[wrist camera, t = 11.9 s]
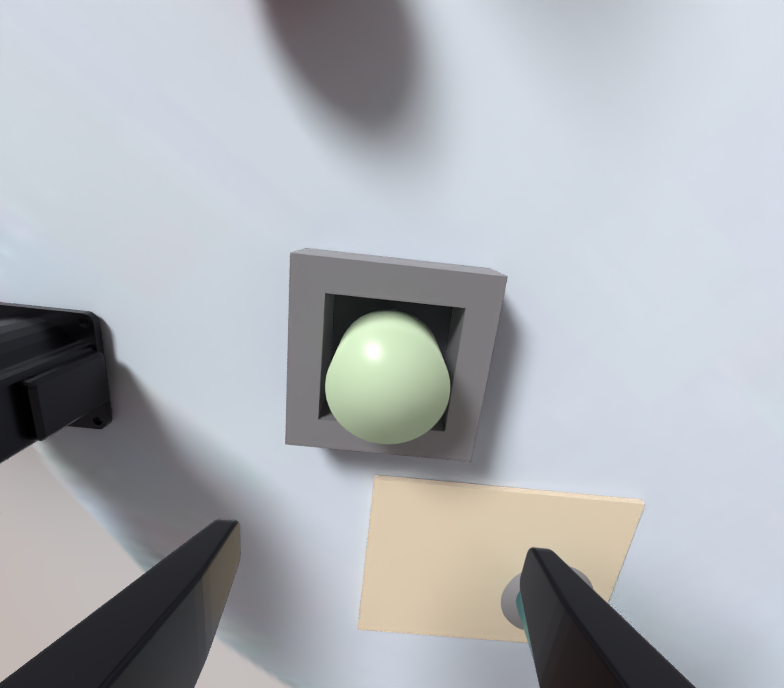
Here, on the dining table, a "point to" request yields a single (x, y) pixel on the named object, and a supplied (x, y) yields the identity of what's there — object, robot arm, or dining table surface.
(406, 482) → the sheet
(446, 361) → the button housing
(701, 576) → the dining table surface
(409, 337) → the button
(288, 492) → the dining table surface
